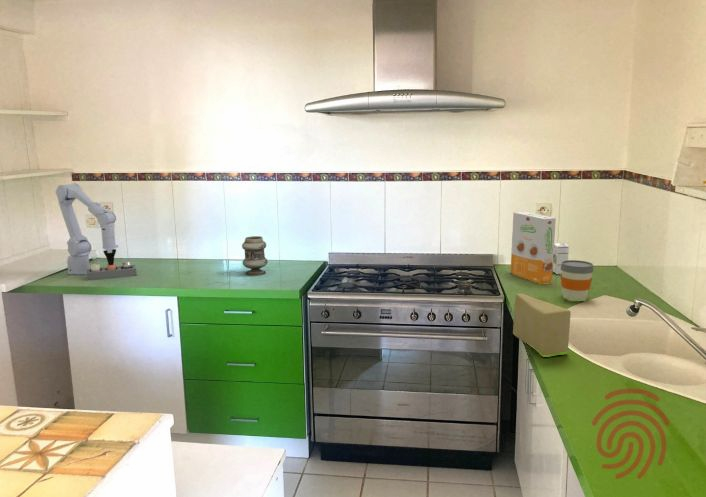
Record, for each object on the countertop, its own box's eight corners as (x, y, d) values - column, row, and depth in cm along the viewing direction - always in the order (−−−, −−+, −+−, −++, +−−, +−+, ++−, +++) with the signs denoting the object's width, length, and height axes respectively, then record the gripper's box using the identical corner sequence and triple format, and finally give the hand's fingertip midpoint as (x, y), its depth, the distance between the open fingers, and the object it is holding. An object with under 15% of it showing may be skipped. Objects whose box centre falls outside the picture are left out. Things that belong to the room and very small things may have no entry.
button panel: (136, 275, 282) (135, 268, 281) (87, 280, 273) (86, 273, 273) (135, 271, 290) (135, 264, 289) (87, 275, 281) (86, 269, 281)
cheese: (502, 335, 197) (504, 293, 194) (526, 332, 200) (528, 290, 197) (542, 359, 176) (545, 312, 173) (569, 355, 179) (572, 309, 176)
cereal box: (551, 283, 262) (555, 218, 256) (540, 284, 260) (544, 219, 254) (521, 272, 283) (524, 211, 277) (510, 273, 281) (513, 212, 275)
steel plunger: (121, 270, 282) (120, 262, 281) (125, 268, 286) (124, 260, 285) (129, 270, 282) (128, 262, 281) (132, 268, 286) (132, 261, 285)
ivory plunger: (89, 273, 277) (88, 265, 276) (94, 271, 280) (93, 263, 280) (97, 273, 276) (96, 265, 275) (102, 271, 280) (101, 263, 279)
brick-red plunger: (105, 273, 279) (105, 265, 279) (109, 271, 283) (109, 263, 283) (113, 273, 279) (113, 265, 278) (117, 271, 283) (117, 263, 282)
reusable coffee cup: (571, 304, 231) (573, 267, 228) (552, 296, 243) (554, 261, 240) (597, 301, 234) (600, 265, 231) (578, 293, 246) (580, 259, 243)
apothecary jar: (240, 272, 287) (238, 236, 284) (263, 269, 292) (262, 234, 289) (246, 277, 277) (245, 240, 273) (271, 274, 282) (269, 238, 278)
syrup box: (567, 275, 277) (569, 245, 274) (555, 275, 277) (557, 245, 274) (563, 272, 283) (565, 243, 280) (551, 272, 283) (553, 243, 280)
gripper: (117, 239, 273) (120, 267, 275) (117, 234, 286) (119, 261, 289) (101, 240, 270) (104, 268, 273) (101, 235, 283) (104, 262, 286)
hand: (111, 264), depth 280 cm, fingers closed, pressing on brick-red plunger
